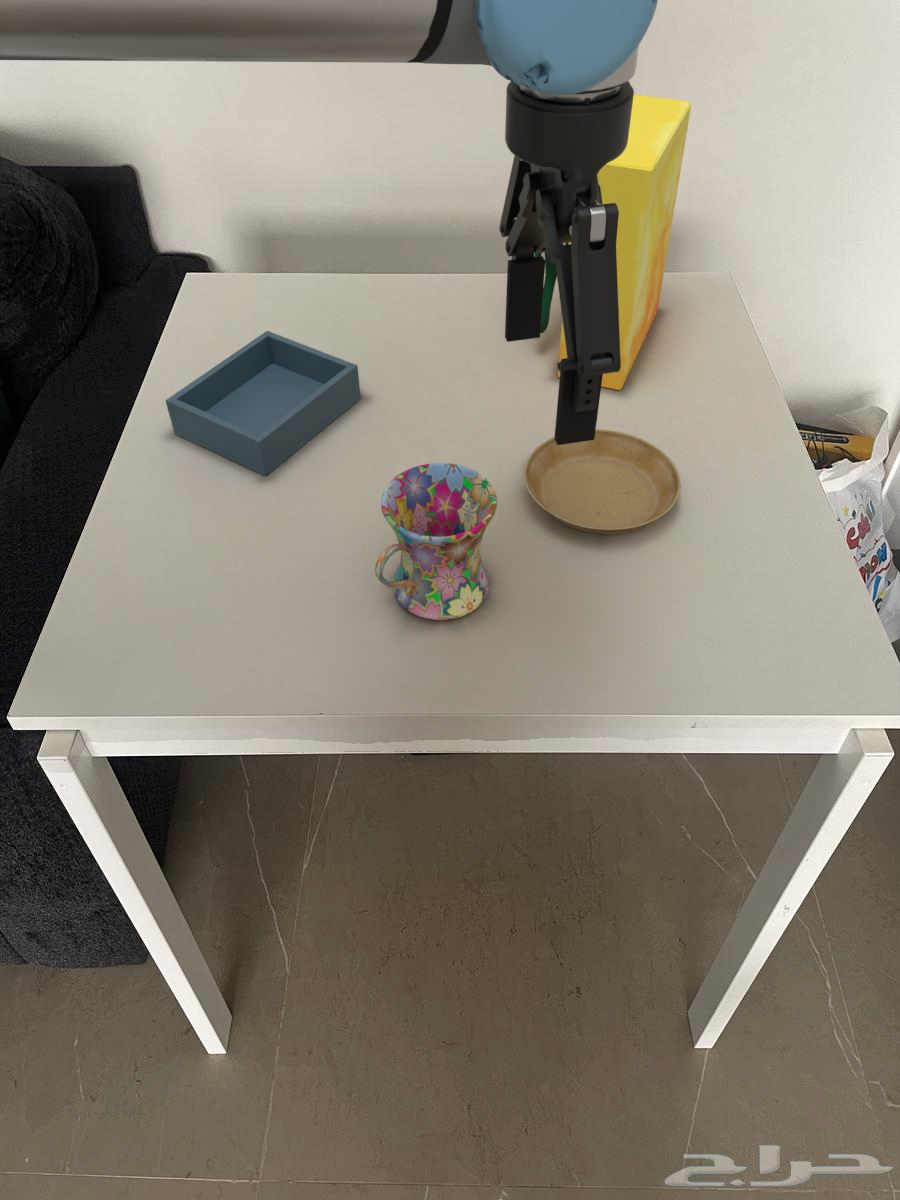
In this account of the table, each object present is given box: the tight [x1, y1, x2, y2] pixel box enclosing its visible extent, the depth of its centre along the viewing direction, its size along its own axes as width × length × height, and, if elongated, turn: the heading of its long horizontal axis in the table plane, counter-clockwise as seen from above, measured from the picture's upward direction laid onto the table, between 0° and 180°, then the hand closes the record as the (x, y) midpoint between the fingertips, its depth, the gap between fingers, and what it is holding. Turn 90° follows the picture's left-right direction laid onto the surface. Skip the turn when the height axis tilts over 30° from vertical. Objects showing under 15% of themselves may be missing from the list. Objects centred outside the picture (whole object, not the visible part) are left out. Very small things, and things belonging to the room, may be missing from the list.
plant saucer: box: [523, 428, 682, 535], centre depth 90 cm, size 15×15×3 cm
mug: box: [374, 462, 498, 621], centre depth 79 cm, size 12×9×11 cm
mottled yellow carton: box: [534, 93, 692, 391], centre depth 101 cm, size 18×12×24 cm
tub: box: [165, 330, 361, 477], centre depth 99 cm, size 13×16×4 cm
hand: (546, 385), depth 71 cm, fingers open, 13 cm apart
